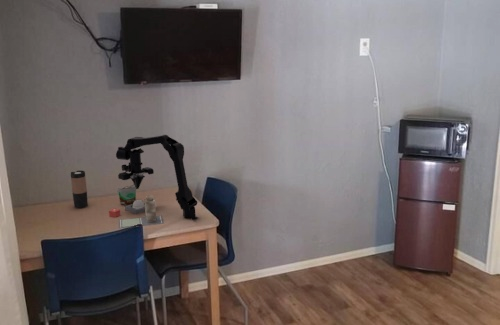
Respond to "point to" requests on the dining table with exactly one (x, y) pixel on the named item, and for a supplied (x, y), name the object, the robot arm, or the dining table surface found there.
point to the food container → (127, 195)
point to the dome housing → (133, 210)
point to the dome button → (138, 204)
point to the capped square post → (150, 209)
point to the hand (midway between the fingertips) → (137, 188)
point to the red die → (114, 213)
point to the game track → (139, 222)
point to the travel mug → (79, 189)
